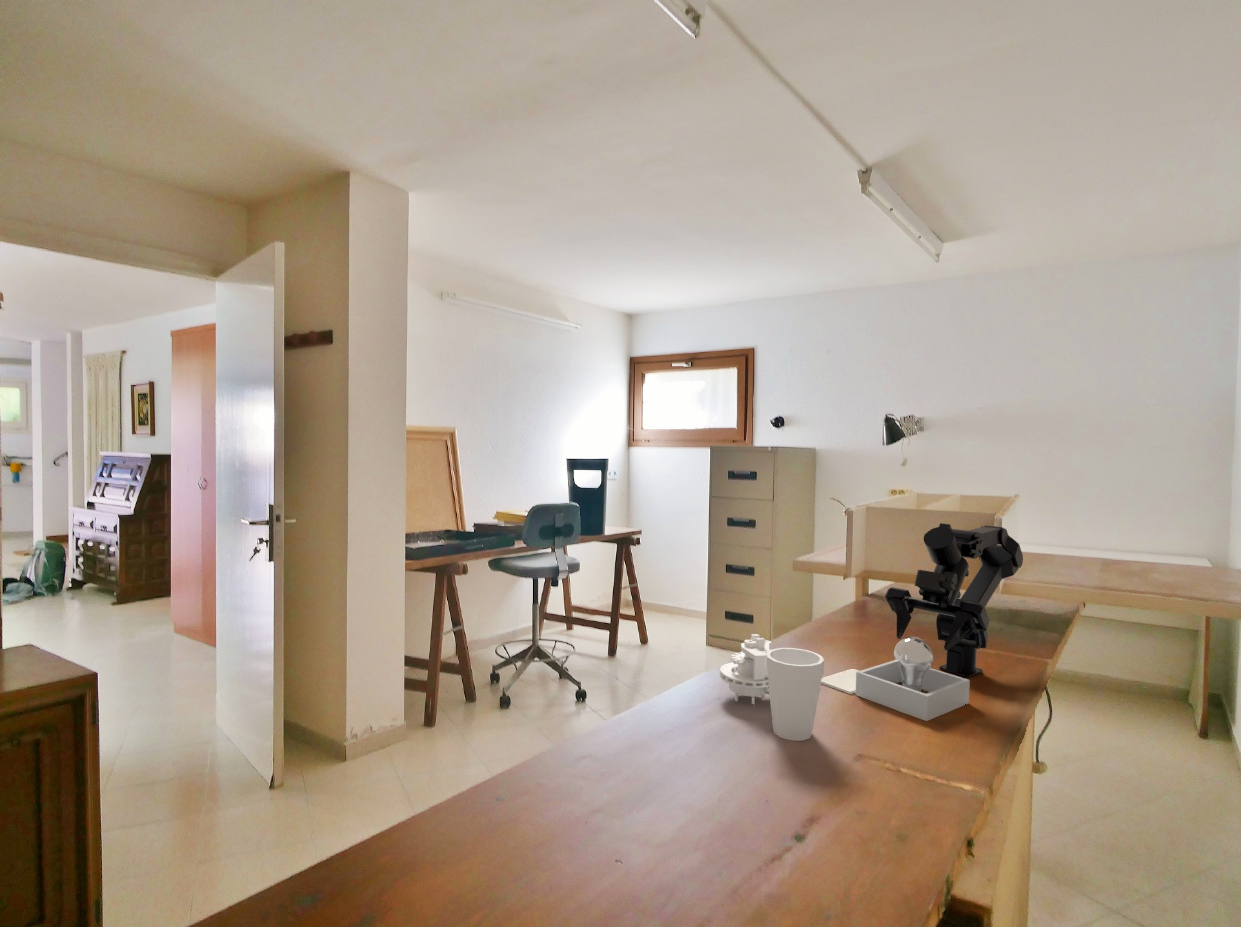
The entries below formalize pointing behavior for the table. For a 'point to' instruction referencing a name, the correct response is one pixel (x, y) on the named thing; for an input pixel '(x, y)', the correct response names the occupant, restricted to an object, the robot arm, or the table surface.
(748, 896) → the table surface
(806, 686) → the foam cup
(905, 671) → the light bulb
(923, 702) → the grey box
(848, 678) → the cream board
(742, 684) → the mechanical part
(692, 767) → the table surface
